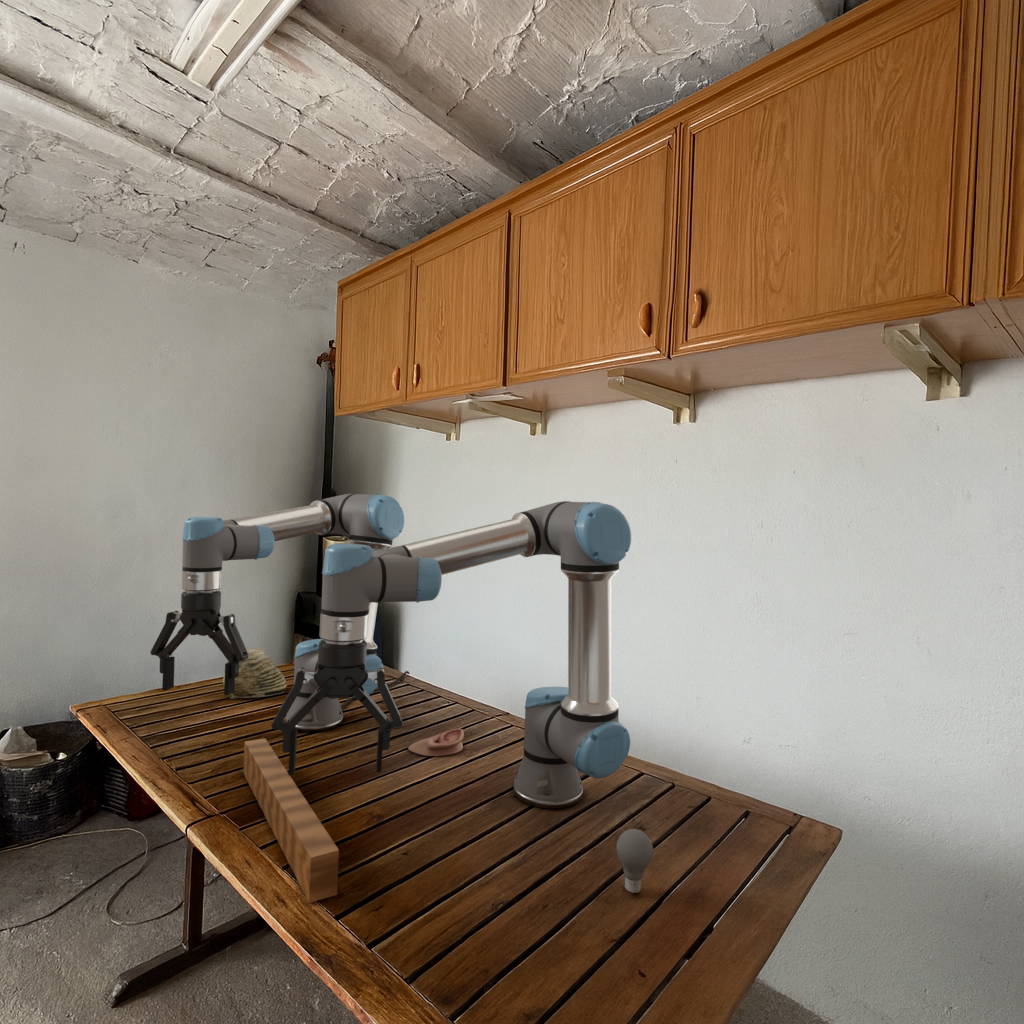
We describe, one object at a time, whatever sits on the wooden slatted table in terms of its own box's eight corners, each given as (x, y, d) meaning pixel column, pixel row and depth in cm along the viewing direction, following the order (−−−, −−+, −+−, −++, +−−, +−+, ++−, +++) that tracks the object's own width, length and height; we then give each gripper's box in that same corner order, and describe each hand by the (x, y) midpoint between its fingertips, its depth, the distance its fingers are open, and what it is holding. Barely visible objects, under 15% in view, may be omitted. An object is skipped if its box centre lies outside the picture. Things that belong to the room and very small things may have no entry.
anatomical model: (404, 737, 158) (420, 722, 169) (403, 753, 158) (419, 736, 169) (455, 743, 155) (468, 727, 166) (454, 760, 155) (467, 742, 166)
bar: (243, 773, 143) (244, 741, 143) (264, 769, 146) (265, 738, 146) (309, 903, 99) (310, 857, 99) (337, 894, 101) (339, 849, 101)
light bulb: (610, 879, 108) (613, 822, 108) (644, 879, 109) (647, 822, 109) (619, 902, 102) (622, 840, 102) (655, 901, 103) (658, 840, 103)
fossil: (218, 695, 195) (220, 647, 195) (278, 685, 208) (279, 640, 207) (228, 703, 189) (230, 653, 188) (289, 692, 201) (290, 645, 201)
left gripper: (133, 589, 130) (130, 692, 131) (249, 596, 128) (246, 700, 128) (157, 584, 138) (154, 681, 138) (267, 591, 135) (263, 689, 136)
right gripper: (257, 644, 96) (249, 783, 96) (422, 645, 101) (414, 777, 102) (265, 633, 103) (258, 763, 103) (419, 635, 109) (412, 758, 109)
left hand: (198, 691), depth 133 cm, fingers open, 13 cm apart
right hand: (335, 770), depth 103 cm, fingers open, 13 cm apart
